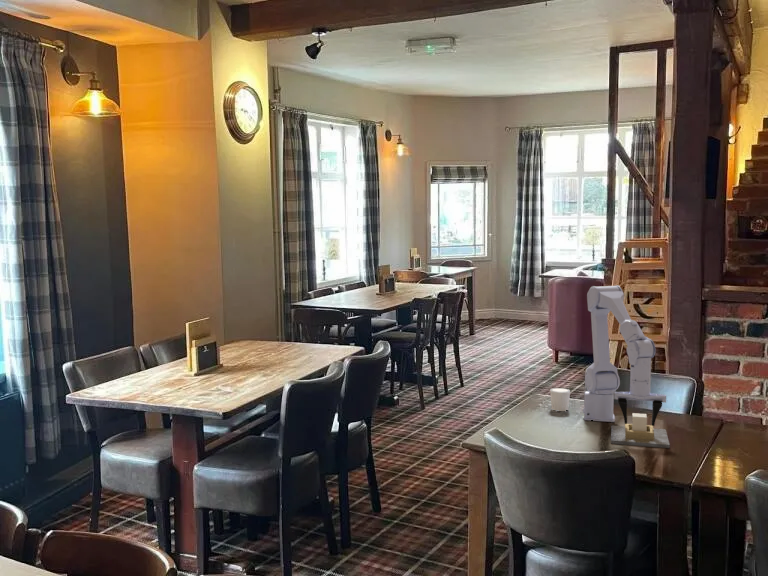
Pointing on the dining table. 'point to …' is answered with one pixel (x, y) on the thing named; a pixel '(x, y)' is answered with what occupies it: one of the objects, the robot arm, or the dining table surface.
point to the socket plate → (639, 436)
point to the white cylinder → (560, 398)
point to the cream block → (639, 422)
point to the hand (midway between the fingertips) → (639, 424)
